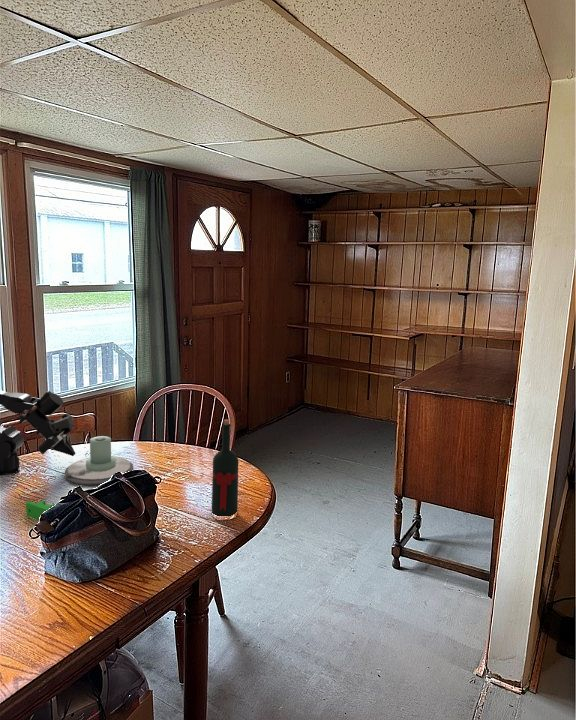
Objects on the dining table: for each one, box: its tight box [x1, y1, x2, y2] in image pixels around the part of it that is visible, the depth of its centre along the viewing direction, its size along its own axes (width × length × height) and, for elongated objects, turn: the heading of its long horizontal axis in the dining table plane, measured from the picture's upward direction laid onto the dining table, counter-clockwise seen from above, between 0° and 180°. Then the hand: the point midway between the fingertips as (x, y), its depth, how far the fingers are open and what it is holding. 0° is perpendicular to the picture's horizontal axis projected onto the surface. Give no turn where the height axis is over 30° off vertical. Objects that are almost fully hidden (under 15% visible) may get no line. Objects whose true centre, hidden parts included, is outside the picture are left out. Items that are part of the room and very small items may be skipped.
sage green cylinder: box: [86, 435, 116, 471], centre depth 182 cm, size 10×10×10 cm
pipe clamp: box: [25, 499, 56, 521], centre depth 149 cm, size 11×4×5 cm, turn 63°
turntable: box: [64, 455, 134, 487], centre depth 183 cm, size 23×23×2 cm
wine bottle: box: [211, 418, 239, 516], centre depth 152 cm, size 8×10×30 cm
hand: (74, 454), depth 182 cm, fingers closed
